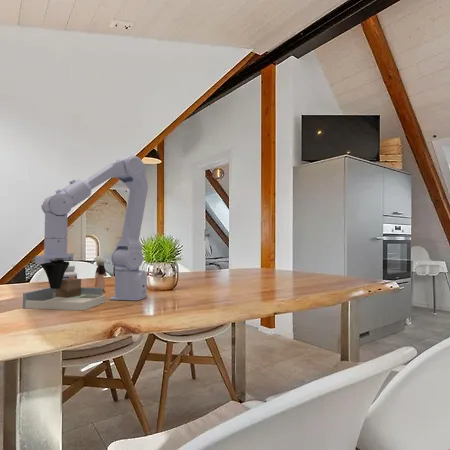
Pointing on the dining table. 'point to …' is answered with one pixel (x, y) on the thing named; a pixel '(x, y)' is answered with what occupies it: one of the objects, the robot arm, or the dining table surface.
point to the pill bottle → (70, 272)
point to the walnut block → (69, 288)
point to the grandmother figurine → (100, 273)
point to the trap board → (63, 299)
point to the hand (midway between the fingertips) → (55, 288)
